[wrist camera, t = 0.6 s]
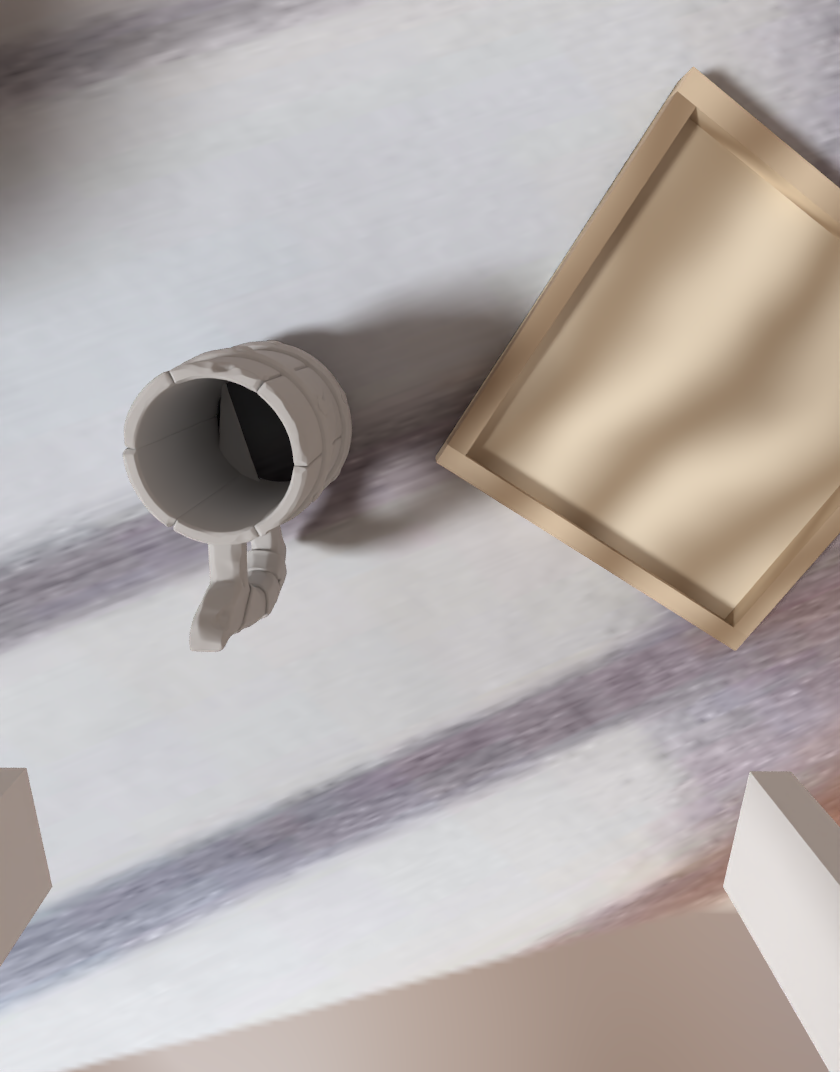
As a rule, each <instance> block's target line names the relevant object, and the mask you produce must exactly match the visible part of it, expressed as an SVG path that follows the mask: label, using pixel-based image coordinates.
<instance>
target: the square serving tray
mask: <svg viewBox="0 0 840 1072" xmlns="http://www.w3.org/2000/svg"><path fill="white" fill-rule="evenodd" d="M435 458H436V463H438V464H440V465H441V466H443V467H444V468H446V469H448V470H449V471H451V472H452V473H454V474H455V475H457V476H459V477H460V478H462V479H463V480H465V481H467V482H468V483H470V484H471V485H473V486H475V487H476V488H478V489H479V490H481V491H482V492H484V493H486V494H487V495H489V496H490V497H492V498H494V499H495V500H497V501H498V502H500V503H501V504H503V505H505V506H506V507H508V508H509V509H511V510H513V511H514V512H516V513H517V514H519V515H521V516H522V517H524V518H525V519H527V520H528V521H530V522H532V523H533V524H535V525H536V526H538V527H540V528H541V529H543V530H544V531H546V532H547V533H549V534H551V535H552V536H554V537H555V538H557V539H559V540H560V541H562V542H563V543H565V544H566V545H568V546H570V547H571V548H573V549H574V550H576V551H578V552H579V553H581V554H582V555H584V556H586V557H587V558H589V559H590V560H592V561H593V562H595V563H597V564H598V565H600V566H601V567H603V568H605V569H606V570H608V571H609V572H611V573H612V574H614V575H616V576H617V577H619V578H620V579H622V580H624V581H625V582H627V583H628V584H630V585H632V586H633V587H635V588H636V589H638V590H639V591H641V592H643V593H644V594H646V595H647V596H649V597H651V598H652V599H654V600H655V601H657V602H658V603H660V604H662V605H663V606H665V607H666V608H668V609H670V610H671V611H673V612H674V613H676V614H678V615H679V616H681V617H682V618H684V619H685V620H687V621H689V622H690V623H692V624H693V625H695V626H697V627H698V628H700V629H701V630H703V631H704V632H706V633H708V634H709V635H711V636H712V637H714V638H716V639H717V640H719V641H720V642H722V643H723V644H725V645H727V646H728V647H730V648H731V649H733V650H735V651H736V650H737V649H738V647H739V646H740V645H741V644H742V643H743V642H744V641H745V640H746V638H747V637H748V636H749V635H750V634H751V633H752V632H753V630H754V629H755V628H756V627H757V626H758V625H759V624H760V623H761V621H762V620H763V619H764V618H765V617H766V616H767V615H768V613H769V612H770V611H771V610H772V609H773V608H774V607H775V606H776V604H777V603H778V602H779V601H780V600H781V599H782V598H783V596H784V595H785V594H786V593H787V592H788V591H789V590H790V589H791V587H792V586H793V585H794V584H795V583H796V582H797V581H798V579H799V578H800V577H801V576H802V575H803V574H804V573H805V571H806V570H807V569H808V568H809V567H810V566H811V565H812V564H813V562H814V561H815V560H816V559H817V558H818V557H819V556H820V554H821V553H822V552H823V551H824V550H825V549H826V548H827V547H828V545H829V544H830V543H831V542H832V541H833V540H834V539H835V537H836V536H837V535H838V534H839V533H840V188H839V187H838V186H836V185H835V184H834V183H833V182H832V181H830V180H829V179H828V178H827V177H826V176H824V175H823V174H822V173H821V172H820V171H818V170H817V169H816V168H815V167H814V166H812V165H811V164H810V163H809V162H808V161H806V160H805V159H804V158H803V157H802V156H800V155H799V154H798V153H797V152H796V151H794V150H793V149H792V148H791V147H790V146H788V145H787V144H786V143H785V142H784V141H782V140H781V139H780V138H779V137H778V136H776V135H775V134H774V133H773V132H772V131H770V130H769V129H768V128H767V127H766V126H764V125H763V124H762V123H761V122H760V121H758V120H757V119H756V118H755V117H754V116H752V115H751V114H750V113H749V112H748V111H746V110H745V109H744V108H743V107H741V106H740V105H739V104H738V103H737V102H735V101H734V100H733V99H732V98H731V97H729V96H728V95H727V94H726V93H725V92H723V91H722V90H721V89H720V88H719V87H717V86H716V85H715V84H714V83H713V82H711V81H710V80H709V79H708V78H707V77H705V76H704V75H703V74H702V73H701V72H699V71H698V70H697V69H696V68H695V67H692V68H691V69H690V70H689V71H688V72H687V73H686V74H685V75H684V76H683V77H682V78H681V79H680V80H679V81H678V82H677V84H676V86H675V87H674V89H673V90H672V92H671V93H670V95H669V96H668V98H667V99H666V101H665V103H664V104H663V106H662V107H661V109H660V110H659V112H658V113H657V115H656V116H655V118H654V120H653V121H652V123H651V124H650V126H649V127H648V129H647V130H646V132H645V133H644V135H643V137H642V138H641V140H640V141H639V143H638V144H637V146H636V147H635V149H634V151H633V152H632V154H631V155H630V157H629V158H628V160H627V161H626V163H625V164H624V166H623V168H622V169H621V171H620V172H619V174H618V175H617V177H616V178H615V180H614V181H613V183H612V185H611V186H610V188H609V189H608V191H607V192H606V194H605V195H604V197H603V198H602V200H601V202H600V203H599V205H598V206H597V208H596V209H595V211H594V212H593V214H592V215H591V217H590V219H589V220H588V222H587V223H586V225H585V226H584V228H583V229H582V231H581V232H580V234H579V236H578V237H577V239H576V240H575V242H574V243H573V245H572V246H571V248H570V249H569V251H568V253H567V254H566V256H565V257H564V259H563V260H562V262H561V263H560V265H559V266H558V268H557V270H556V271H555V273H554V274H553V276H552V277H551V279H550V280H549V282H548V283H547V285H546V287H545V288H544V290H543V291H542V293H541V294H540V296H539V297H538V299H537V301H536V302H535V304H534V305H533V307H532V308H531V310H530V311H529V313H528V314H527V316H526V318H525V319H524V321H523V322H522V324H521V325H520V327H519V328H518V330H517V331H516V333H515V335H514V336H513V338H512V339H511V341H510V342H509V344H508V345H507V347H506V348H505V350H504V352H503V353H502V355H501V356H500V358H499V359H498V361H497V362H496V364H495V365H494V367H493V369H492V370H491V372H490V373H489V375H488V376H487V378H486V379H485V381H484V382H483V384H482V386H481V387H480V389H479V390H478V392H477V393H476V395H475V396H474V398H473V399H472V401H471V403H470V404H469V406H468V407H467V409H466V410H465V412H464V413H463V415H462V416H461V418H460V420H459V421H458V423H457V424H456V426H455V427H454V429H453V430H452V432H451V433H450V435H449V437H448V438H447V440H446V441H445V443H444V444H443V446H442V447H441V449H440V451H439V452H438V454H437V455H436V457H435Z"/></svg>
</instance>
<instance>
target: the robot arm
mask: <svg viewBox="0 0 840 1072" xmlns="http://www.w3.org/2000/svg"><path fill="white" fill-rule="evenodd" d="M723 887H724V889H725V891H726V892H727V894H728V896H729V898H730V899H731V901H732V903H733V905H734V906H735V908H736V910H737V912H738V913H739V915H740V917H741V918H742V920H743V922H744V923H745V925H746V927H747V929H748V931H749V932H750V934H751V936H752V937H753V939H754V941H755V943H756V945H757V946H758V948H759V950H760V951H761V953H762V955H763V956H764V958H765V960H766V962H767V964H768V965H769V967H770V969H771V971H772V972H773V974H774V976H775V978H776V979H777V981H778V983H779V985H780V986H781V988H782V990H783V991H784V993H785V995H786V997H787V998H788V1000H789V1002H790V1004H791V1005H792V1007H793V1009H794V1011H795V1012H796V1014H797V1016H798V1017H799V1019H800V1021H801V1023H802V1025H803V1026H804V1028H805V1030H806V1031H807V1033H808V1035H809V1037H810V1038H811V1040H812V1042H813V1044H814V1045H815V1047H816V1049H817V1050H818V1052H819V1054H820V1056H821V1058H822V1059H823V1061H824V1063H825V1065H826V1066H827V1068H828V1070H829V1071H830V1072H840V827H839V826H838V825H837V824H836V822H835V821H834V820H833V819H832V818H831V817H830V816H829V815H828V813H827V812H826V811H825V810H824V809H823V808H822V807H821V805H820V804H819V803H818V802H817V801H816V800H815V799H814V798H813V796H812V795H811V794H810V793H809V792H808V791H807V790H806V788H805V787H804V786H803V785H802V784H801V783H800V782H799V781H798V779H797V778H796V777H795V776H794V775H793V774H792V773H791V772H751V771H750V773H749V777H748V781H747V786H746V790H745V794H744V799H743V803H742V807H741V812H740V816H739V820H738V825H737V829H736V833H735V838H734V842H733V846H732V851H731V855H730V859H729V864H728V868H727V872H726V877H725V881H724V885H723ZM51 888H52V884H51V879H50V874H49V870H48V865H47V861H46V856H45V851H44V847H43V842H42V838H41V833H40V828H39V824H38V819H37V815H36V810H35V806H34V801H33V796H32V792H31V787H30V783H29V778H28V773H27V769H26V768H0V966H1V965H2V963H3V962H4V960H5V959H6V957H7V956H8V954H9V952H10V951H11V949H12V948H13V946H14V945H15V943H16V942H17V940H18V939H19V937H20V935H21V934H22V932H23V931H24V929H25V928H26V926H27V925H28V923H29V922H30V920H31V918H32V917H33V915H34V914H35V912H36V911H37V909H38V908H39V906H40V905H41V903H42V902H43V900H44V898H45V897H46V895H47V894H48V892H49V891H50V889H51Z"/></svg>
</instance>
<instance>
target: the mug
mask: <svg viewBox="0 0 840 1072" xmlns="http://www.w3.org/2000/svg"><path fill="white" fill-rule="evenodd" d="M229 381H231V382H234V383H237V384H240V385H242V386H244V387H246V388H248V389H250V390H252V391H254V392H257V394H258V395H259V396H260V397H261V398H263V399H264V400H265V401H266V402H267V403H268V404H269V405H270V406H271V407H272V409H273V410H274V411H275V412H276V414H277V415H278V416H279V418H280V420H281V421H282V423H283V425H284V427H285V429H286V431H287V433H288V436H289V439H290V442H291V447H292V452H293V461H294V465H295V466H294V468H293V473H292V478H291V481H285V482H276V481H269V480H265V479H262V478H259V477H258V476H257V473H256V470H255V467H254V464H253V462H252V459H251V456H250V453H249V450H248V447H247V444H246V441H245V438H244V435H243V433H242V430H241V427H240V424H239V421H238V418H237V415H236V412H235V409H234V406H233V404H232V401H231V398H230V395H229V392H228V389H227V386H226V385H227V383H228V382H229ZM220 396H221V412H220V434H219V430H218V420H217V417H216V416H217V414H218V404H219V400H220ZM351 438H352V419H351V413H350V408H349V405H348V402H347V397H346V394H345V392H344V391H343V390H342V388H341V386H340V384H339V383H338V381H337V380H336V378H335V377H334V376H333V374H332V373H331V372H330V371H329V370H328V369H327V368H326V367H325V366H324V365H323V364H322V363H321V362H320V361H319V360H317V359H316V358H315V357H313V356H312V355H310V354H308V353H307V352H305V351H303V350H301V349H299V348H297V347H294V346H291V345H287V344H283V343H282V342H280V341H275V340H267V341H259V342H249V343H245V344H240V345H237V346H233V347H231V348H225V349H220V350H213V351H209V352H205V353H202V354H200V355H198V356H196V357H194V358H192V359H190V360H188V361H186V362H184V363H182V364H181V365H179V366H177V367H175V368H173V369H172V370H170V371H167V372H164V373H162V374H160V375H158V376H157V377H156V378H154V379H153V380H152V381H151V382H149V383H148V384H147V385H146V386H145V387H144V388H143V389H142V391H141V392H140V393H139V394H138V396H137V397H136V399H135V400H134V402H133V404H132V405H131V407H130V410H129V412H128V414H127V417H126V421H125V425H124V443H125V446H127V447H128V448H127V449H126V450H125V451H124V452H123V459H124V465H125V468H126V472H127V475H128V478H129V480H130V483H131V485H132V486H133V488H134V490H135V492H136V494H137V495H138V497H139V499H140V500H141V501H142V503H143V504H144V505H145V507H146V508H147V509H148V510H149V511H150V513H151V514H152V515H153V516H154V517H156V518H157V519H158V520H159V521H160V522H162V523H163V524H165V525H166V526H167V527H171V526H173V525H174V524H175V525H174V531H176V532H177V533H179V534H181V535H183V536H185V537H188V538H190V539H193V540H196V541H199V542H203V543H208V549H209V570H210V585H209V587H208V589H207V590H206V593H205V595H204V597H203V600H202V602H201V603H200V605H199V607H198V609H197V611H196V613H195V616H194V618H193V621H192V625H191V630H190V637H189V646H190V650H192V651H199V652H218V651H221V650H222V649H223V648H224V647H225V645H226V643H227V641H228V639H229V638H230V636H232V635H233V634H236V633H238V632H240V631H241V630H242V629H244V628H247V627H250V626H251V625H253V624H254V623H256V622H257V621H258V620H260V619H262V618H265V617H267V616H268V615H269V614H270V613H271V611H272V609H273V607H274V605H275V603H276V601H277V599H278V596H279V593H280V590H281V588H282V585H283V583H284V580H285V577H286V565H285V558H286V546H285V543H284V541H283V537H282V533H281V527H280V525H281V524H284V523H286V522H288V521H289V520H291V519H293V518H294V517H296V516H297V515H298V514H300V513H301V512H302V511H303V510H304V509H306V508H307V507H308V506H309V505H310V504H311V502H314V501H315V500H316V499H317V498H318V497H319V496H320V495H321V493H322V491H323V490H324V489H325V488H326V487H327V486H328V485H329V484H330V483H331V482H333V481H334V480H335V479H336V478H337V477H338V476H339V474H340V472H341V468H342V466H343V464H344V462H345V460H346V458H347V456H348V453H349V449H350V444H351ZM249 541H251V545H252V551H248V552H247V542H249Z"/></svg>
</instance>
